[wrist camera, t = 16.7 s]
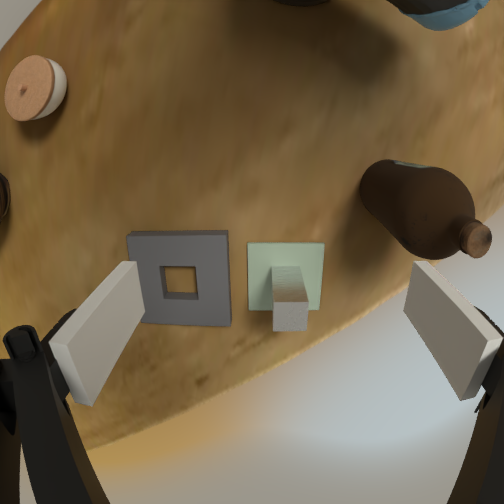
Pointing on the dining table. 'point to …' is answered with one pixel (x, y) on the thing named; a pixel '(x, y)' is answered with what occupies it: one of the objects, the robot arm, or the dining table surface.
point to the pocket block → (183, 254)
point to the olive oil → (424, 209)
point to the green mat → (283, 255)
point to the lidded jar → (35, 88)
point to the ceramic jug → (4, 196)
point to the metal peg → (288, 299)
